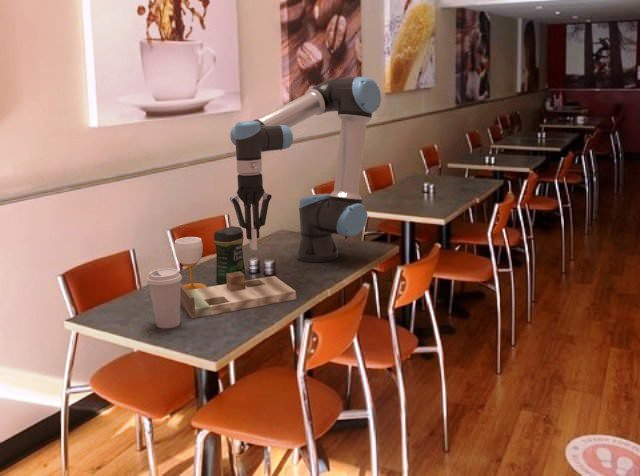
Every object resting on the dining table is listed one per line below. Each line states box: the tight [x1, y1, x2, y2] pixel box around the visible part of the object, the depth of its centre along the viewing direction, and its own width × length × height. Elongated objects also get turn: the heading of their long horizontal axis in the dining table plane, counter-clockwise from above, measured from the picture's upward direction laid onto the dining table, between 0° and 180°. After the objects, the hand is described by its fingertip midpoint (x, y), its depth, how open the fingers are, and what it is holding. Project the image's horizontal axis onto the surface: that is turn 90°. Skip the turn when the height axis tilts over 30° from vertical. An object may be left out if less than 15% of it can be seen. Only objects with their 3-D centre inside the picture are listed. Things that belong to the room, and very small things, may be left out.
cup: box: [174, 236, 207, 290], centre depth 217 cm, size 9×9×16 cm
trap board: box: [180, 275, 297, 319], centre depth 206 cm, size 32×18×6 cm, turn 115°
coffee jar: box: [213, 225, 247, 285], centre depth 221 cm, size 10×8×19 cm
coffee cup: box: [146, 267, 183, 329], centre depth 187 cm, size 10×10×15 cm
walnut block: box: [226, 271, 246, 291], centre depth 209 cm, size 4×4×4 cm
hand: (253, 248), depth 211 cm, fingers closed
